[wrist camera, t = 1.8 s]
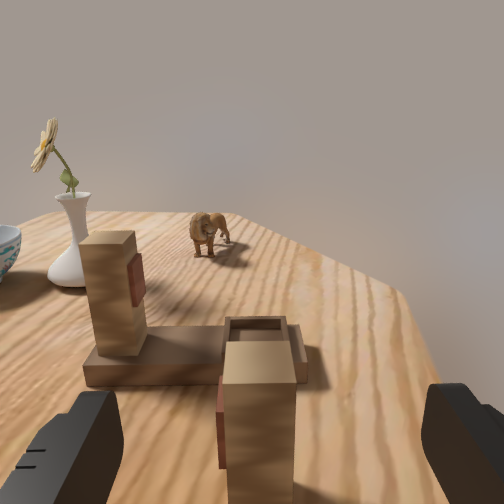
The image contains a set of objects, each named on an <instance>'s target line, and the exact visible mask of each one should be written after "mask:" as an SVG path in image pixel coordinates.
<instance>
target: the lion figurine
mask: <svg viewBox="0 0 504 504" xmlns="http://www.w3.org/2000/svg"><path fill="white" fill-rule="evenodd" d="M218 228H219V229H220V230H221V231H222V233H221V235H220V237H223V235H224V234H225V235H226V239H225V241H224V242H225V243H230V238H229V232H228V230H227V226H226V221H225V217H224V216H223V215H221V214H220V213H214V214H211V215H209V214H206V213H203V212H200V213H197V214H196V215H194V216H193V217H192V219H191V221H190V229H189V231H190V237H191V239H193V241H194V245H195V249H196V253H195V254H194V257H200V256H201V250H200V245H203V244H206V243H207V244H206V246H208V257H210V258H211V257H215V255H214V252H213V242H214V238H215V234H216V232H217V229H218Z"/></svg>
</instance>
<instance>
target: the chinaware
mask: <svg viewBox="0 0 504 504" xmlns="http://www.w3.org/2000/svg"><path fill="white" fill-rule="evenodd" d="M20 247H21V230H20V229H19V228H17V227H14V226H9V225H0V283H1V281H2V276H3V275H4V274H5V273H6V272H7V271H8V270H9V269H10V268H11V267H12V265H13V264H14V262H15V261H16V259H17V257H18V254H19V251H20Z"/></svg>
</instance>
